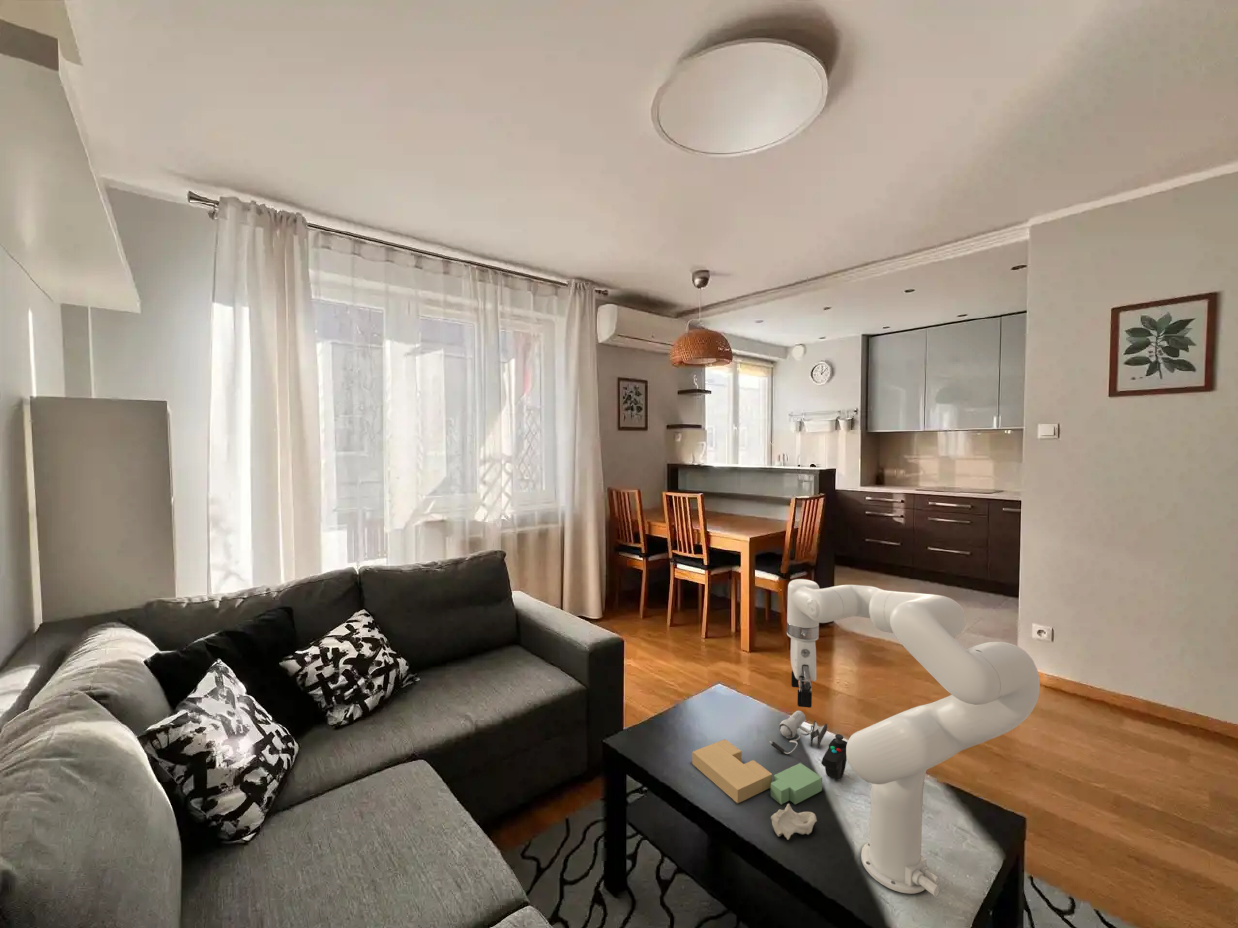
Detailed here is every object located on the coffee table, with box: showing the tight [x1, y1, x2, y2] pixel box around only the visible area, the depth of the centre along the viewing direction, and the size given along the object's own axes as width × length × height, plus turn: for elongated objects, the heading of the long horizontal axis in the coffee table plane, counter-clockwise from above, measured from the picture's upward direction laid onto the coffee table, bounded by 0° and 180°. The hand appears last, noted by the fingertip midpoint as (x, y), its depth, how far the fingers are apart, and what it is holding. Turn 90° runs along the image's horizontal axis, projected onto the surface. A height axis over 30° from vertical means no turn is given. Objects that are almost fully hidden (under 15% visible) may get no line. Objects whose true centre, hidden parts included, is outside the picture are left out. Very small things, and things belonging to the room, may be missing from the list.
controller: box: [820, 733, 848, 781], centre depth 137 cm, size 4×12×10 cm, turn 141°
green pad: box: [770, 762, 823, 805], centre depth 132 cm, size 7×13×4 cm, turn 120°
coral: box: [770, 803, 818, 841], centre depth 119 cm, size 6×10×4 cm, turn 115°
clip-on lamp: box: [768, 710, 828, 755], centre depth 153 cm, size 12×6×18 cm
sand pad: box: [691, 738, 773, 804], centre depth 138 cm, size 18×12×4 cm, turn 30°
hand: (800, 696), depth 130 cm, fingers open, 9 cm apart
